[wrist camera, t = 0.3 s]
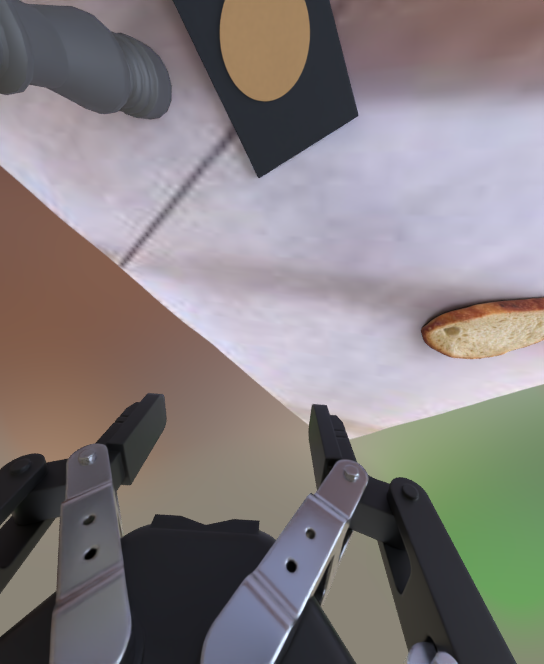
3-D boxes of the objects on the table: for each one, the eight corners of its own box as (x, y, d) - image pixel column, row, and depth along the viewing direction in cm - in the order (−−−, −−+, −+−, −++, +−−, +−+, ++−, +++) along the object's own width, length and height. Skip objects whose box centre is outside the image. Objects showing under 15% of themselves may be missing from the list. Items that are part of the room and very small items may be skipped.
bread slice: (583, 307, 40) (605, 321, 37) (475, 371, 51) (486, 385, 48) (511, 250, 36) (529, 261, 33) (410, 333, 46) (417, 346, 43)
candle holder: (125, 116, 30) (-192, 85, 11) (108, 39, 26) (-432, -227, 7) (175, 121, 30) (-53, 99, 11) (166, 45, 26) (-218, -208, 7)
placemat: (149, -50, 23) (145, -55, 22) (276, -205, 18) (275, -217, 18) (259, 177, 33) (258, 178, 32) (357, 116, 28) (358, 115, 28)
